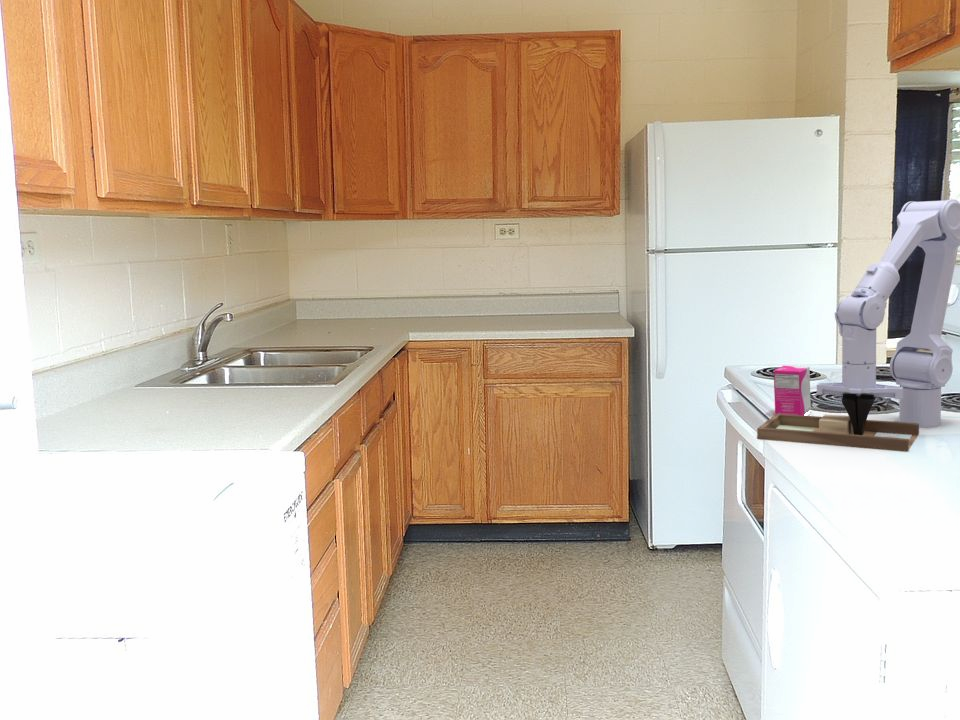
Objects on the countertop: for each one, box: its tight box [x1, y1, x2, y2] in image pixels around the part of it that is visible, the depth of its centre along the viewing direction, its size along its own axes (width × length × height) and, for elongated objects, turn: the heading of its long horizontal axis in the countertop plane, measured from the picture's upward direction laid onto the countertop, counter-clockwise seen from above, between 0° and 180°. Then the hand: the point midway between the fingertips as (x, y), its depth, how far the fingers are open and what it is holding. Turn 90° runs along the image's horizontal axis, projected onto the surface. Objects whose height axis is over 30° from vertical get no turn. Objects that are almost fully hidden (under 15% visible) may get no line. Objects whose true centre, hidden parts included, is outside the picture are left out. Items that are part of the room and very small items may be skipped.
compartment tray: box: [756, 413, 920, 452], centre depth 167 cm, size 13×26×4 cm, turn 56°
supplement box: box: [773, 365, 812, 415], centre depth 185 cm, size 6×6×12 cm
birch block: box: [819, 413, 853, 435], centre depth 166 cm, size 5×5×4 cm
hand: (858, 434), depth 164 cm, fingers closed
